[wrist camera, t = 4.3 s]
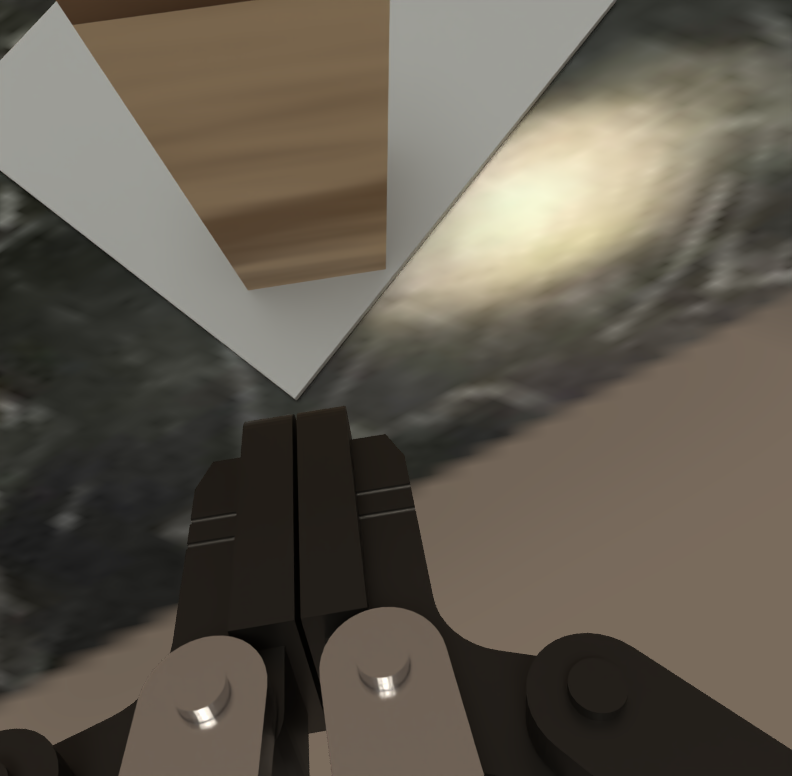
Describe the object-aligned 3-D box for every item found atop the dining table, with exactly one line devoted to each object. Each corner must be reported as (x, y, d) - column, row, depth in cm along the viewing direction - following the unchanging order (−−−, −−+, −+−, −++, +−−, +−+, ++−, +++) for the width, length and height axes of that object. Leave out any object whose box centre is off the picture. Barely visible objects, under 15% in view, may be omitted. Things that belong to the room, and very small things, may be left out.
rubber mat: (296, 400, 23) (294, 398, 22) (-51, 131, 24) (-60, 123, 23) (615, 2, 25) (619, -8, 25) (285, -225, 26) (283, -239, 26)
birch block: (385, 269, 23) (390, -74, 9) (247, 290, 23) (38, -27, 9) (363, 140, 24) (337, -363, 10) (229, 160, 23) (7, -325, 10)
